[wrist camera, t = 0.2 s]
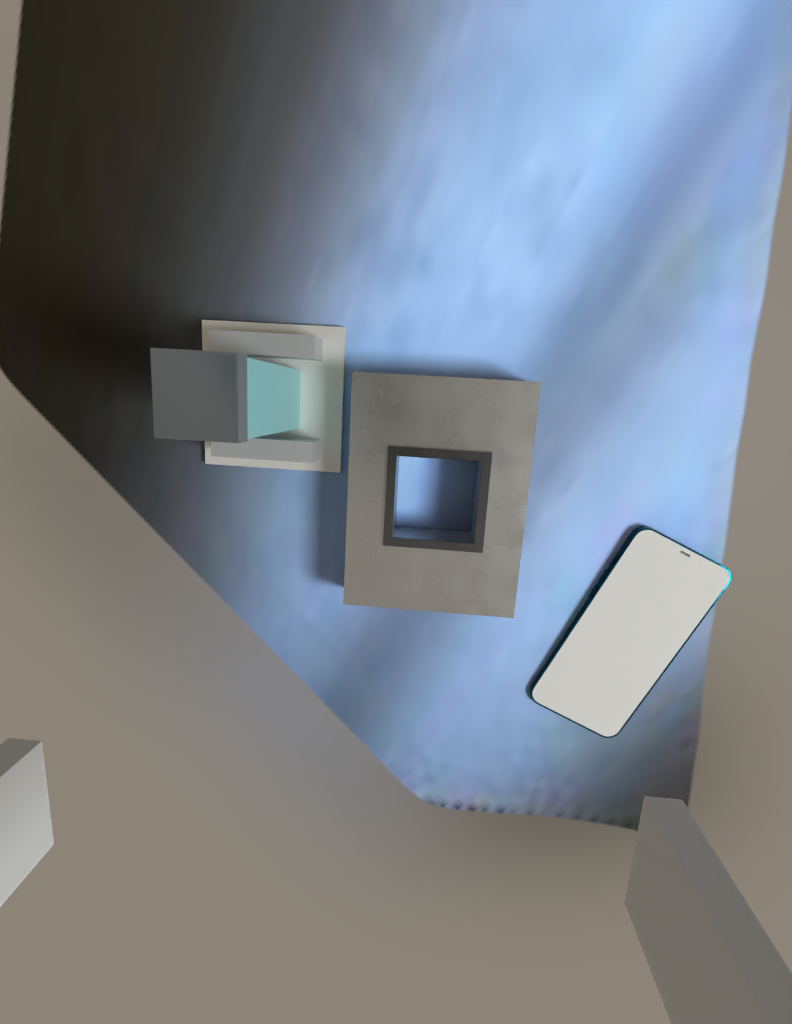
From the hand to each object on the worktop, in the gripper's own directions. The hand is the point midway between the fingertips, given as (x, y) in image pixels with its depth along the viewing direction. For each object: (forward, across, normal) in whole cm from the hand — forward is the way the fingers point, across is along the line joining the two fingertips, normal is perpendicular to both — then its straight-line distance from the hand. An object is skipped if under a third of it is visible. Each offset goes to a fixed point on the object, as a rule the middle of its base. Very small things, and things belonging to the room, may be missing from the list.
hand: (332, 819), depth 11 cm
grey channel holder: (+27, -10, +9) cm, 30 cm away
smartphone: (+28, +17, -8) cm, 34 cm away
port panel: (+27, +2, +3) cm, 27 cm away
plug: (+27, -10, +9) cm, 30 cm away
